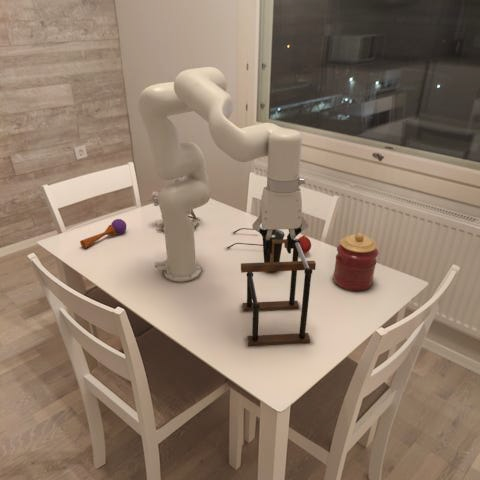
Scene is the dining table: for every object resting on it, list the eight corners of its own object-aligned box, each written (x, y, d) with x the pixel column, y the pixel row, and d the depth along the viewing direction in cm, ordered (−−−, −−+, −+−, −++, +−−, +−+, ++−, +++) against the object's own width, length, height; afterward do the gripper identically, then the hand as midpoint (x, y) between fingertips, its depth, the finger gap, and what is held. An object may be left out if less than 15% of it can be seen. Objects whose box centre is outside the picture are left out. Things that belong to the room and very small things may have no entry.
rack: (248, 346, 121) (249, 273, 108) (242, 305, 137) (242, 238, 124) (309, 342, 122) (318, 270, 110) (296, 303, 138) (302, 236, 126)
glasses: (270, 252, 166) (271, 240, 163) (227, 249, 168) (226, 237, 166) (274, 236, 178) (274, 224, 175) (233, 233, 180) (233, 221, 177)
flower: (165, 208, 197) (146, 165, 176) (214, 206, 194) (201, 162, 173) (157, 244, 187) (136, 203, 166) (209, 242, 183) (194, 201, 162)
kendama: (75, 236, 168) (117, 216, 180) (81, 250, 171) (122, 229, 183) (84, 238, 164) (126, 217, 176) (90, 252, 167) (131, 231, 179)
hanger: (241, 272, 118) (241, 242, 113) (240, 269, 120) (240, 240, 115) (315, 269, 120) (318, 240, 115) (313, 266, 121) (317, 237, 116)
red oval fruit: (293, 250, 167) (294, 231, 163) (308, 250, 168) (310, 230, 163) (296, 258, 162) (297, 238, 158) (311, 257, 163) (313, 238, 158)
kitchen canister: (347, 267, 157) (354, 221, 147) (379, 281, 149) (389, 233, 139) (325, 281, 149) (330, 233, 140) (358, 296, 141) (366, 247, 132)
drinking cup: (280, 275, 152) (284, 222, 141) (258, 273, 153) (260, 220, 142) (283, 264, 158) (286, 212, 147) (262, 262, 159) (264, 210, 149)
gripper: (313, 177, 110) (307, 243, 120) (246, 179, 109) (245, 245, 119) (320, 188, 104) (313, 257, 114) (249, 190, 103) (248, 259, 113)
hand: (279, 250), depth 116 cm, fingers closed on hanger, 4 cm apart
